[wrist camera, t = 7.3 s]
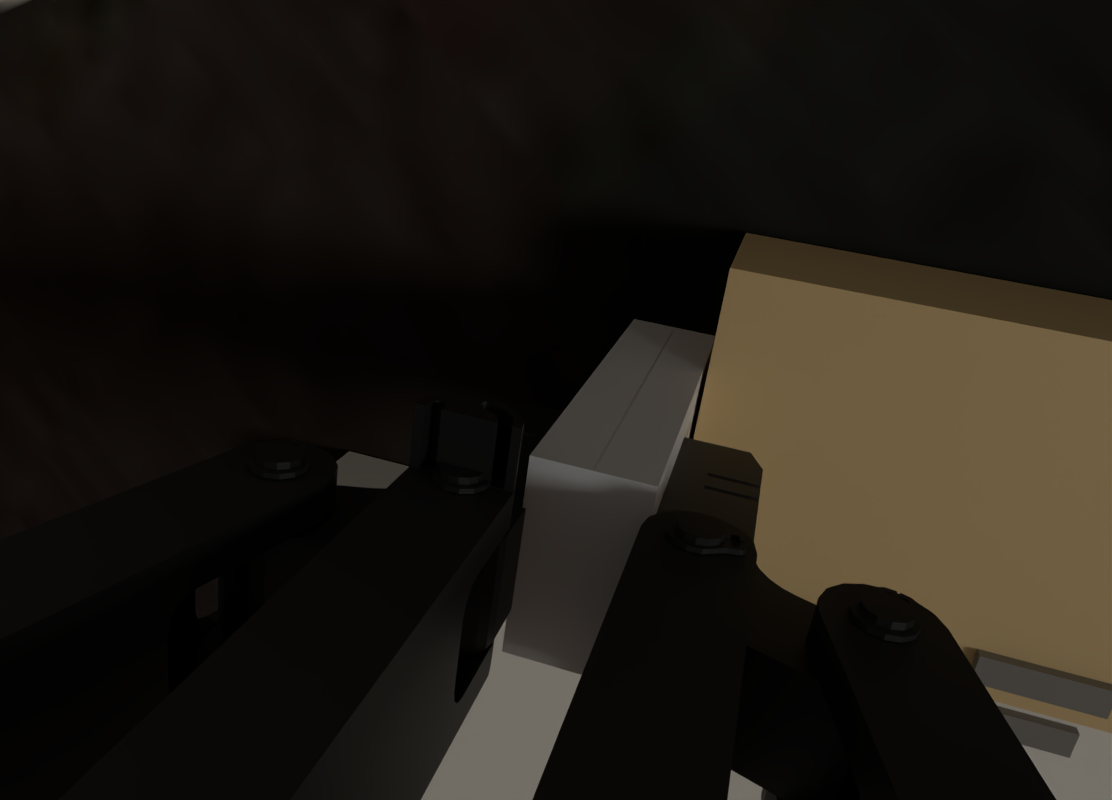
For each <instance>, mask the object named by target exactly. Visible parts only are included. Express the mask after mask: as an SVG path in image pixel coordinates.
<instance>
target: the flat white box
mask: <svg viewBox="0 0 1112 800" xmlns="http://www.w3.org/2000/svg"><path fill="white" fill-rule="evenodd" d="M336 463H337V464H338V472H337V485H341V486H353V487H365V488H387V487H388V486H389V485H390V484H391V483H393V482H394V481H395V480H396V479H397V478H398V477H399V476H400V475H401V474H402V473H403V472H404V471H405V470H406V469H407V468H408V467H409V466H406V465H402V464H398V463H394V462H390V461H386V460H382V459H378V458H374V457H370V456H366V455H362V454H359V453H355V452H351V451H349V452H348V453H346V454H345V455H344V456H343V457H341V458H340V459H339V460H337V461H336ZM506 619H507V618H506ZM505 626H506V620H505V622H504V623H503V625H502V627H501V628H500V630H499V632H498V634H497V635H496V637H495V639H494V646H493V653H492V660H491V666H490V671H489V675H488V677H487V679H486V681H485V683H484V685H483V687H482V688H481V690H480V692H479V694H478V696H477V698H476V699H475V701H474V703H473V705H472V707H471V709H470V710H469V712H468V714H467V716H466V718H465V720H464V721H463V723H462V725H461V727H460V729H459V731H458V732H457V734H456V736H455V738H454V740H453V742H452V743H451V745H450V747H449V749H448V751H447V753H446V754H445V756H444V758H443V760H442V762H441V764H440V765H439V767H438V769H437V771H436V773H435V775H434V776H433V778H432V780H431V782H430V784H429V786H428V787H427V789H426V791H425V793H424V795H423V797H422V798H421V800H532V799H533V797H534V794H535V792H536V789H537V787H538V784H539V781H540V779H541V776H542V774H543V771H544V769H545V766H546V764H547V761H548V759H549V756H550V754H551V751H552V749H553V746H554V744H555V741H556V739H557V736H558V734H559V731H560V729H561V726H562V723H563V721H564V718H565V716H566V713H567V711H568V708H569V706H570V703H571V701H572V698H573V696H574V693H575V691H576V688H577V686H578V683H579V681H580V678H581V676H582V675H580V674H577V673H574V672H570V671H567V670H563V669H560V668H556V667H553V666H550V665H546V664H543V663H539V662H536V661H533V660H529V659H526V658H522V657H519V656H516V655H512V654H509V653H505V652H502V647H503V640H504V633H505ZM994 702H995V701H994ZM995 703H996V705H997V707H998V708H999V710H1000V711H1001V713H1002V715H1003V716H1004V718H1005V719H1006V721H1007V722H1008V724H1009V726H1010V727H1011V729H1012V730H1013V732H1014V733H1015V735H1016V737H1017V738H1018V740H1019V741H1020V743H1021V745H1022V746H1023V748H1024V749H1025V751H1026V752H1027V754H1028V756H1029V757H1030V759H1031V760H1032V762H1033V763H1034V765H1035V767H1036V768H1037V770H1038V771H1039V773H1040V775H1041V776H1042V778H1043V779H1044V781H1045V782H1046V784H1047V786H1048V787H1049V789H1050V790H1051V792H1052V794H1053V795H1054V797H1055V798H1056V800H1112V733H1109V732H1105V731H1101V730H1098V729H1094V728H1090V727H1087V726H1083V725H1079V724H1076V723H1072V722H1068V721H1065V720H1061V719H1057V718H1054V717H1050V716H1046V715H1043V714H1039V713H1035V712H1032V711H1028V710H1024V709H1021V708H1017V707H1013V706H1010V705H1006V704H1002V703H999V702H995ZM762 789H763V788H762V787H760V786H758V785H757V784H755V783H753V782H751V781H750V780H748V779H746V778H744V777H743V776H741V775H739V774H737V773H736V772H734V771H732V770H731V775H730V783H729V791H728V799H727V800H761V792H762Z"/></svg>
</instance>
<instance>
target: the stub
mask: <svg viewBox="0 0 1112 800" xmlns="http://www.w3.org/2000/svg"><path fill="white" fill-rule="evenodd" d="M694 439H695V440H699V441H703V442H708V443H712V444H716V445H721V446H725V447H729V448H733V449H738V450H742V451H746V452H751V454H752V455H753V456H754V458H755V459H756V461H757V462H758V463H759V465H760V466H761V468H762V469H763V473H762V481H761V487H760V497H759V505H758V513H757V520H756V528H755V536H754V544H755V547H756V551H757V562H756V564H757V565H758V567H759V569H760V570H761V571H762V572H763V573H764V574H765V575H766V576H767V577H768V578H769V579H770V580H772V581H773V582H774V583H776V584H777V585H779V586H780V587H781V588H783V589H785V590H787V591H789V592H790V593H792V594H794V595H796V596H798V597H800V598H802V599H804V600H807V601H809V602H811V603H813V604H815V605H816V604H817V600H818V598H819V596H820V595H821V594H822V593H823V592H824V591H825V589H826V588H829V587H832V586H836V585H839V584H842V583H849V584H867V585H872V586H876V587H886V588H889V589H892V590H895V591H897V593H898V594H900V593H902V594H904V595H906V596H908V597H911V598H912V599H914V600H915V601H916V602H917V603H919V604H920V605H922V606H923V607H925V608H926V609H928V610H929V611H931V612H932V613H934V614H935V615H936V616H937V617H938V618H939V619H940V620H941V622H942V623H943V624H944V625H945V626H946V627H947V628H948V629H949V631H950V632H951V634H952V635H953V637H954V639H955V640H956V642H957V643H958V645H959V647H960V648H961V650H962V651H963V653H964V654H965V656H966V658H967V659H968V661H969V662H970V664H971V666H972V667H973V669H974V670H975V672H976V673H977V675H978V677H979V678H980V680H981V681H982V683H983V684H984V686H985V688H986V689H987V691H988V692H989V694H990V696H991V697H992V699H993V700H994V701H995V702H999V703H1002V704H1006V705H1010V706H1013V707H1017V708H1021V709H1024V710H1028V711H1032V712H1035V713H1039V714H1043V715H1046V716H1050V717H1054V718H1057V719H1061V720H1065V721H1068V722H1072V723H1076V724H1079V725H1083V726H1087V727H1090V728H1094V729H1098V730H1101V731H1105V732H1109V733H1112V300H1108V299H1103V298H1097V297H1092V296H1086V295H1081V294H1076V293H1070V292H1065V291H1059V290H1054V289H1048V288H1043V287H1038V286H1032V285H1027V284H1021V283H1016V282H1011V281H1005V280H1000V279H994V278H989V277H983V276H978V275H973V274H967V273H962V272H956V271H951V270H946V269H940V268H935V267H929V266H924V265H918V264H913V263H908V262H902V261H897V260H891V259H886V258H880V257H875V256H870V255H864V254H859V253H853V252H848V251H843V250H837V249H832V248H826V247H821V246H815V245H810V244H805V243H799V242H794V241H788V240H783V239H777V238H772V237H767V236H761V235H756V234H750V233H746V234H745V236H744V239H743V241H742V243H741V245H740V247H739V250H738V252H737V254H736V256H735V258H734V260H733V263H732V265H731V267H730V271H729V275H728V280H727V285H726V289H725V294H724V299H723V303H722V308H721V313H720V317H719V322H718V327H717V331H716V336H715V341H714V345H713V350H712V355H711V359H710V364H709V369H708V373H707V378H706V383H705V387H704V392H703V397H702V401H701V406H700V411H699V415H698V420H697V425H696V429H695V434H694Z"/></svg>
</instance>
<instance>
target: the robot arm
mask: <svg viewBox="0 0 1112 800" xmlns="http://www.w3.org/2000/svg"><path fill="white" fill-rule="evenodd" d="M714 341H715V336H713V335H708V334H704V333H699V332H694V331H689V330H684V329H680V328H675V327H670V326H665V325H661V324H656V323H651V322H646V321H641V320H637V319H634V320H633V321H632V323H631V324H630V325H629V327H628V328H627V329H626V330H625V332H624V333H623V334H622V336H621V337H620V338H619V340H618V341H617V342H616V344H615V345H614V346H613V347H612V349H611V350H610V351H609V353H608V354H607V355H606V357H605V358H604V359H603V360H602V362H601V363H600V364H599V366H598V367H597V368H596V370H595V371H594V372H593V373H592V375H591V376H590V377H589V379H588V380H587V381H586V383H585V384H584V385H583V387H582V388H581V389H580V390H579V392H578V393H577V394H576V396H575V397H574V398H573V400H572V401H571V402H570V403H569V405H568V406H567V407H566V409H565V410H564V411H559V410H555V409H551V408H547V407H542V406H538V405H534V404H530V403H525V402H522V403H519V404H517V405H514V406H511V407H510V406H508V405H507V404H505V403H502V402H499V401H496V400H493V399H489V398H486V397H479V396H473V395H466V394H444V395H438V396H432V397H427V398H425V399H423V400H421V401H419V402H416V403H415V409H414V420H413V431H412V442H411V454H410V465H409V467H408V468H407V469H406V470H405V471H404V472H403V473H402V474H401V475H400V476H399V477H398V478H397V479H396V480H395V481H394V482H393V483H391V484H390V485H389V486H388V487H387V488H365V487H353V486H341V485H337V472H338V464H337V463H336V461H335V459H334V457H333V456H332V455H331V454H329V453H327V452H326V451H324V450H322V449H321V448H319V447H315V446H311V445H308V444H304V443H303V442H301V441H295V440H291V441H290V442H289V440H287V439H275V440H273V441H267V442H256V443H252V444H248V445H245V446H241V447H237V448H235V449H232V450H230V451H227V452H224V453H222V454H219V455H217V456H214V457H212V458H209V459H206V460H204V461H201V462H199V463H196V464H194V465H191V466H188V467H186V468H183V469H181V470H178V471H176V472H173V473H170V474H168V475H165V476H163V477H160V478H158V479H155V480H152V481H150V482H147V483H145V484H142V485H140V486H137V487H134V488H132V489H129V490H127V491H124V492H122V493H119V494H116V495H114V496H111V497H109V498H106V499H104V500H101V501H98V502H96V503H93V504H91V505H88V506H86V507H83V508H80V509H78V510H75V511H73V512H70V513H68V514H65V515H62V516H60V517H57V518H55V519H52V520H50V521H47V522H44V523H42V524H39V525H37V526H34V527H32V528H29V529H26V530H24V531H21V532H19V533H16V534H14V535H11V536H8V537H6V538H3V539H1V540H0V800H421V798H422V797H423V795H424V793H425V791H426V789H427V787H428V786H429V784H430V782H431V780H432V778H433V776H434V775H435V773H436V771H437V769H438V767H439V765H440V764H441V762H442V760H443V758H444V756H445V754H446V753H447V751H448V749H449V747H450V745H451V743H452V742H453V740H454V738H455V736H456V734H457V732H458V731H459V729H460V727H461V725H462V723H463V721H464V720H465V718H466V716H467V714H468V712H469V710H470V709H471V707H472V705H473V703H474V701H475V699H476V698H477V696H478V694H479V692H480V690H481V688H482V687H483V685H484V683H485V681H486V679H487V677H488V675H489V671H490V666H491V660H492V653H493V646H494V639H495V637H496V635H497V634H498V632H499V630H500V628H501V627H502V625H503V623H504V622H505V620H506V626H505V633H504V640H503V647H502V652H505V653H509V654H512V655H516V656H519V657H522V658H526V659H529V660H533V661H536V662H539V663H543V664H546V665H550V666H553V667H556V668H560V669H563V670H567V671H570V672H574V673H577V674H580V675H582V676H581V678H580V681H579V683H578V686H577V688H576V691H575V693H574V696H573V698H572V701H571V703H570V706H569V708H568V711H567V713H566V716H565V718H564V721H563V723H562V726H561V729H560V731H559V734H558V736H557V739H556V741H555V744H554V746H553V749H552V751H551V754H550V756H549V759H548V761H547V764H546V766H545V769H544V771H543V774H542V776H541V779H540V781H539V784H538V787H537V789H536V792H535V794H534V797H533V799H532V800H727V799H728V791H729V783H730V775H731V770H732V771H734V772H736V773H737V774H739V775H741V776H743V777H744V778H746V779H748V780H750V781H751V782H753V783H755V784H757V785H758V786H760V787H762V788H763V789H762V792H761V800H1056V798H1055V797H1054V795H1053V794H1052V792H1051V790H1050V789H1049V787H1048V786H1047V784H1046V782H1045V781H1044V779H1043V778H1042V776H1041V775H1040V773H1039V771H1038V770H1037V768H1036V767H1035V765H1034V763H1033V762H1032V760H1031V759H1030V757H1029V756H1028V754H1027V752H1026V751H1025V749H1024V748H1023V746H1022V745H1021V743H1020V741H1019V740H1018V738H1017V737H1016V735H1015V733H1014V732H1013V730H1012V729H1011V727H1010V726H1009V724H1008V722H1007V721H1006V719H1005V718H1004V716H1003V715H1002V713H1001V711H1000V710H999V708H998V707H997V705H996V703H995V702H994V700H993V699H992V697H991V696H990V694H989V692H988V691H987V689H986V688H985V686H984V684H983V683H982V681H981V680H980V678H979V677H978V675H977V673H976V672H975V670H974V669H973V667H972V666H971V664H970V662H969V661H968V659H967V658H966V656H965V654H964V653H963V651H962V650H961V648H960V647H959V645H958V643H957V642H956V640H955V639H954V637H953V635H952V634H951V632H950V631H949V629H948V628H947V627H946V626H945V625H944V624H943V623H942V622H941V620H940V619H939V618H938V617H937V616H936V615H935V614H934V613H932V612H931V611H929V610H928V609H926V608H925V607H923V606H922V605H920V604H919V603H917V602H916V601H915V600H914V599H912V598H911V597H908V596H906V595H904V594H902V593H900V594H898V593H897V591H895V590H892V589H889V588H886V587H876V586H872V585H867V584H849V583H842V584H839V585H836V586H832V587H829V588H826V589H825V591H824V592H823V593H822V594H821V595H820V596H819V598H818V600H817V604H816V605H815V604H813V603H811V602H809V601H807V600H804V599H802V598H800V597H798V596H796V595H794V594H792V593H790V592H789V591H787V590H785V589H783V588H781V587H780V586H779V585H777V584H776V583H774V582H773V581H772V580H770V579H769V578H768V577H767V576H766V575H765V574H764V573H763V572H762V571H761V570H760V569H759V567H758V565H757V564H756V562H757V551H756V547H755V544H754V536H755V528H756V520H757V513H758V505H759V497H760V487H761V481H762V473H763V469H762V468H761V466H760V465H759V463H758V462H757V461H756V459H755V458H754V456H753V455H752V454H751V452H746V451H742V450H738V449H733V448H729V447H725V446H721V445H716V444H712V443H708V442H703V441H699V440H695V439H694V434H695V429H696V425H697V420H698V415H699V411H700V406H701V401H702V397H703V392H704V387H705V383H706V378H707V373H708V369H709V364H710V359H711V355H712V350H713V345H714ZM217 577H218V610H217V611H215V612H213V613H212V614H210V615H208V616H206V617H203V618H199V619H197V616H196V613H195V589H196V588H198V587H200V586H202V585H204V584H206V583H207V582H209V581H211V580H213V579H215V578H217ZM506 618H507V619H506Z"/></svg>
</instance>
